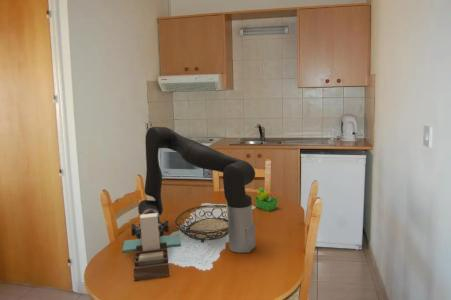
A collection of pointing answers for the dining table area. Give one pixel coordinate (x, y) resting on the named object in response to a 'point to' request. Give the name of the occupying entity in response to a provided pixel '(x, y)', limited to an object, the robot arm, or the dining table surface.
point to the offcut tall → (150, 261)
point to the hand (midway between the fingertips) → (150, 235)
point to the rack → (151, 270)
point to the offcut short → (151, 253)
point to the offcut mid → (151, 255)
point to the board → (170, 240)
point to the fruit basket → (265, 200)
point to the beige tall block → (149, 231)
